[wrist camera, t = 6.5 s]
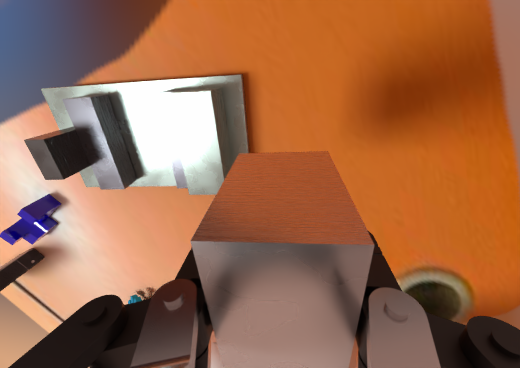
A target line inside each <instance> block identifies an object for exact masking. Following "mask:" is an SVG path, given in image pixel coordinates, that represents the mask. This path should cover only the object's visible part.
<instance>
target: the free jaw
mask: <svg viewBox="0 0 520 368" xmlns="http://www.w3.org/2000/svg"><path fill="white" fill-rule="evenodd" d="M62 100H63V103H64V105H65V107H66V110H67V112H68V114H69V117H70V119H71V121H72V123H73V127H69V128H66V129H62V130H59V131H55V132H52V133H48V134H44V135H41V136H37V137H34V138H30V139H26V140H24V141H25V143H26V145H27V147H28V148H29V150H30V152H31V154H32V156H33V158H34V159H35V161H36V163H37V165H38V167H39V169H40V170H41V172H42V174H43V176H44V178H45V180H60V179H65V178H67V177H69V176H71V175H73V174H75V173H77V172H79V171H81V170H83V169H85V168H87V167H89V166H91V167H92V170H93V172H94V174H95V177H96V179H97V181H98V183H99V186H100V188H101V189H125V188H127V187H128V186H129V185H131V184H132V183H133V182H135V181H136V180H137V178H136V175H135V172H134V169H133V166H132V163H131V160H130V158H129V155H128V152H127V149H126V146H125V143H124V140H123V137H122V134H121V131H120V128H119V126H118V123H117V120H116V117H115V114H114V111H113V108H112V105H111V102H110V99H109V97H108V95H94V96H81V97H74V98H67V99H62Z"/></svg>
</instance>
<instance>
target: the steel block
mask: <svg viewBox="0 0 520 368" xmlns="http://www.w3.org/2000/svg"><path fill="white" fill-rule="evenodd" d="M191 245H192V249H193V253H194V257H195V260H196V264H197V268H198V272H199V276H200V280H201V284H202V288H203V291H204V295H205V299H206V303H207V307H208V311H209V315H210V319H211V322H212V326H213V330H214V334H215V338H216V342H217V346H218V350H219V353H220V357H221V361H222V365H223V368H349V364H350V359H351V354H352V349H353V345H354V340H355V335H356V330H357V326H358V321H359V316H360V312H361V307H362V302H363V297H364V293H365V288H366V283H367V278H368V274H369V269H370V264H371V259H372V255H373V250H374V243H373V241H372V239H371V237H370V235H369V233H368V231H367V229H366V227H365V225H364V223H363V221H362V219H361V217H360V215H359V213H358V211H357V209H356V207H355V205H354V203H353V201H352V199H351V197H350V195H349V193H348V191H347V189H346V187H345V185H344V183H343V181H342V179H341V177H340V175H339V173H338V171H337V169H336V167H335V165H334V163H333V161H332V159H331V157H330V155H329V153H328V151H316V152H279V153H241V154H238V156H237V158H236V160H235V162H234V163H233V165H232V167H231V169H230V171H229V172H228V174H227V176H226V178H225V180H224V182H223V183H222V185H221V187H220V189H219V191H218V192H217V194H216V196H215V198H214V200H213V201H212V203H211V205H210V207H209V209H208V210H207V212H206V214H205V216H204V218H203V219H202V221H201V223H200V225H199V227H198V228H197V230H196V232H195V234H194V236H193V237H192V239H191Z"/></svg>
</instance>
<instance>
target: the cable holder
mask: <svg viewBox="0 0 520 368" xmlns="http://www.w3.org/2000/svg"><path fill="white" fill-rule="evenodd" d="M60 205H61V203H60V202H59V201H57V200H56V199H55V198H53V197H52V196H51V195H50V194H48V195H46V196H45V197H43V198H41V199H39V200H37V201H35V202H34V203H32V204H30V205H28V206H26V207H24V208H22V209H21V210H20V212H19V213H18V214H17V215H19V216H20V217H21V218H22V219H20V220H19V221H18V222H16V223H15V224H14V225H12V226H11V227H9V228H7V229H6V230H4V231H3V232H2V233H1V234H0V237H1V238H2V239H4V240H5V241H7V242H8V243H10V244H11V245H13V244H15V243H16V242H18V241H19V240H21V239H22V238H24V239H25V240H26V241H28V242H29V243H31V244H34V243H35V242H37V241H38V240H40V239H41V238H42V237H44V236H45V235H47V234H48V233H49V232H50V231H51V230H52V229H53V228H54V227H55V226H56V225H57V224H58V223H57V222H56V221H54V220H53V219H52V218H50V217H49V216H50V215H51V214H52V213H53V212H54V211H55V210H56V209H57V208H58V207H59V206H60Z"/></svg>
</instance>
